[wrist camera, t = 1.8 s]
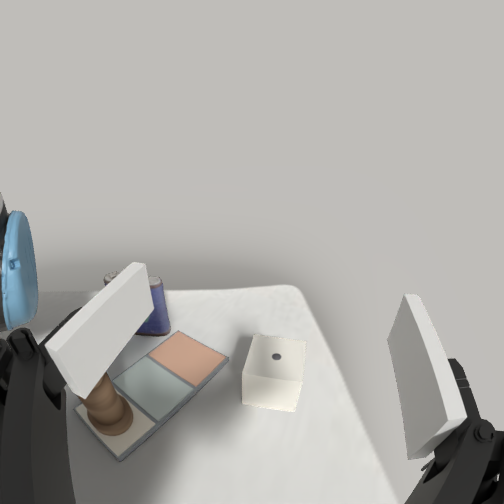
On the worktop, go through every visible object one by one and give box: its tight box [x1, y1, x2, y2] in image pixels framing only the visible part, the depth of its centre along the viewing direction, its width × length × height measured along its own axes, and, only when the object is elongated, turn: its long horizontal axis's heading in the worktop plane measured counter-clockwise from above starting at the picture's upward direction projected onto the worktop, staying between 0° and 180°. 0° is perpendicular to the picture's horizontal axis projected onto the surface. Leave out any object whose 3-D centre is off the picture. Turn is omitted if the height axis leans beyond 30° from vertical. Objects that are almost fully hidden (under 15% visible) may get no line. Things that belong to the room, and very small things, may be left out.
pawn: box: [77, 372, 133, 436], centre depth 21 cm, size 5×5×10 cm
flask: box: [104, 268, 171, 337], centre depth 36 cm, size 9×3×11 cm, turn 86°
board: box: [73, 331, 229, 461], centre depth 29 cm, size 9×20×1 cm, turn 148°
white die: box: [242, 334, 307, 412], centre depth 29 cm, size 6×6×6 cm
